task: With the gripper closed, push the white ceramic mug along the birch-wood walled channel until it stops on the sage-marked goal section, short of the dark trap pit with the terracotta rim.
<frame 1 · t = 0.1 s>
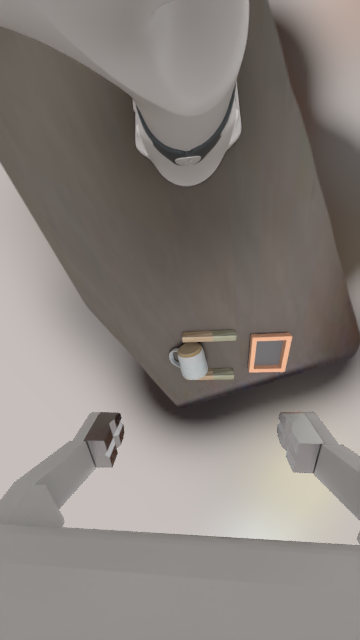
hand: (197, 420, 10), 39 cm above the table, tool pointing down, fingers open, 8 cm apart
channel walls: (208, 352, 55), on the table
trap pit: (266, 351, 53), on the table
ceramic mug: (188, 352, 56), on the table
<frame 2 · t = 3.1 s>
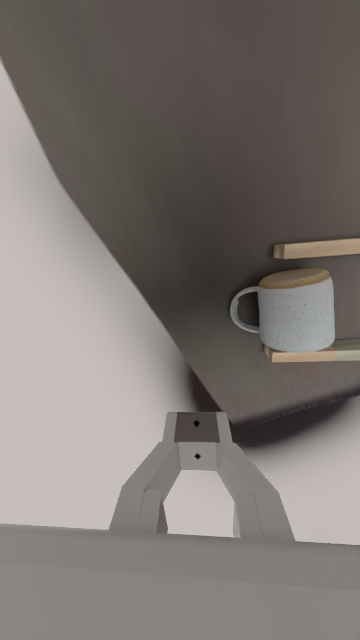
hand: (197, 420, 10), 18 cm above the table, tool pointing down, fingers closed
channel walls: (323, 300, 25), on the table
ceramic mug: (268, 303, 26), on the table
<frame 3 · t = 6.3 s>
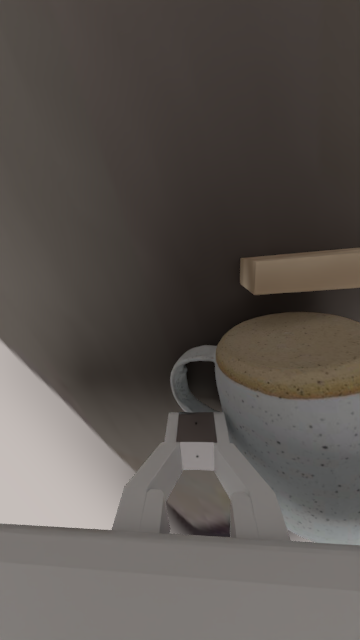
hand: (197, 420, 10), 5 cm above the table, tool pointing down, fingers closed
channel walls: (341, 362, 13), on the table
ceramic mug: (246, 367, 14), on the table, touching gripper
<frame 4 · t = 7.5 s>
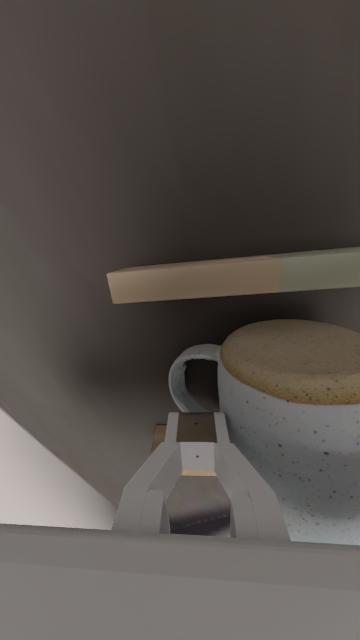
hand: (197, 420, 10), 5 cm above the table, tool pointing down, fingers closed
channel walls: (239, 364, 14), on the table
ceramic mug: (244, 369, 14), on the table, touching gripper
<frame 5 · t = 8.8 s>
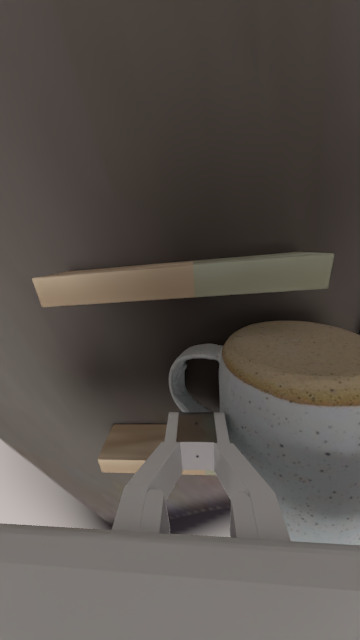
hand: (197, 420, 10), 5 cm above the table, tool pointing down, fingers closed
channel walls: (185, 365, 14), on the table
ceramic mug: (244, 370, 14), on the table, touching gripper
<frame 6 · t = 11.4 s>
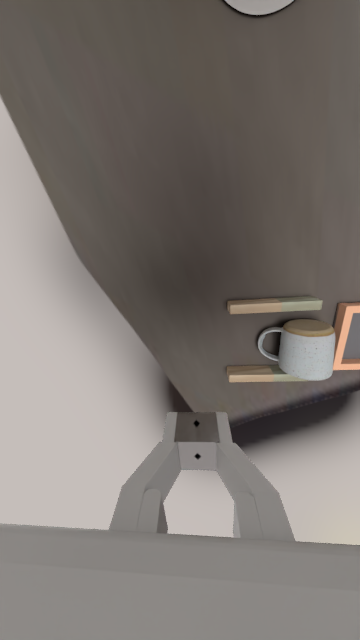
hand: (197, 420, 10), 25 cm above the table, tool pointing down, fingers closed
channel walls: (265, 337, 35), on the table
ceramic mug: (285, 339, 35), on the table
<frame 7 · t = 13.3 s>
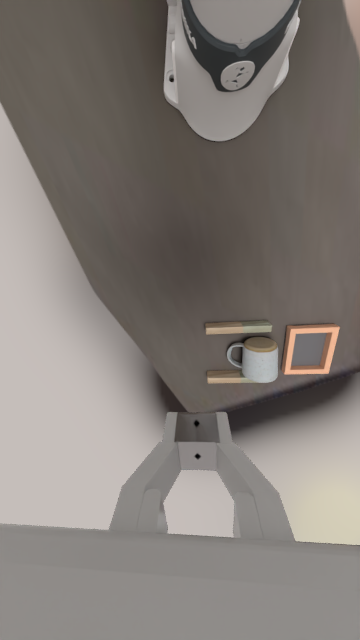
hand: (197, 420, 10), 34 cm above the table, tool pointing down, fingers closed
channel walls: (234, 349, 46), on the table
trap pit: (305, 347, 45), on the table
ceramic mug: (248, 350, 46), on the table
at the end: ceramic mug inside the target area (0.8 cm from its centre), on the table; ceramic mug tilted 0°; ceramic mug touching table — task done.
